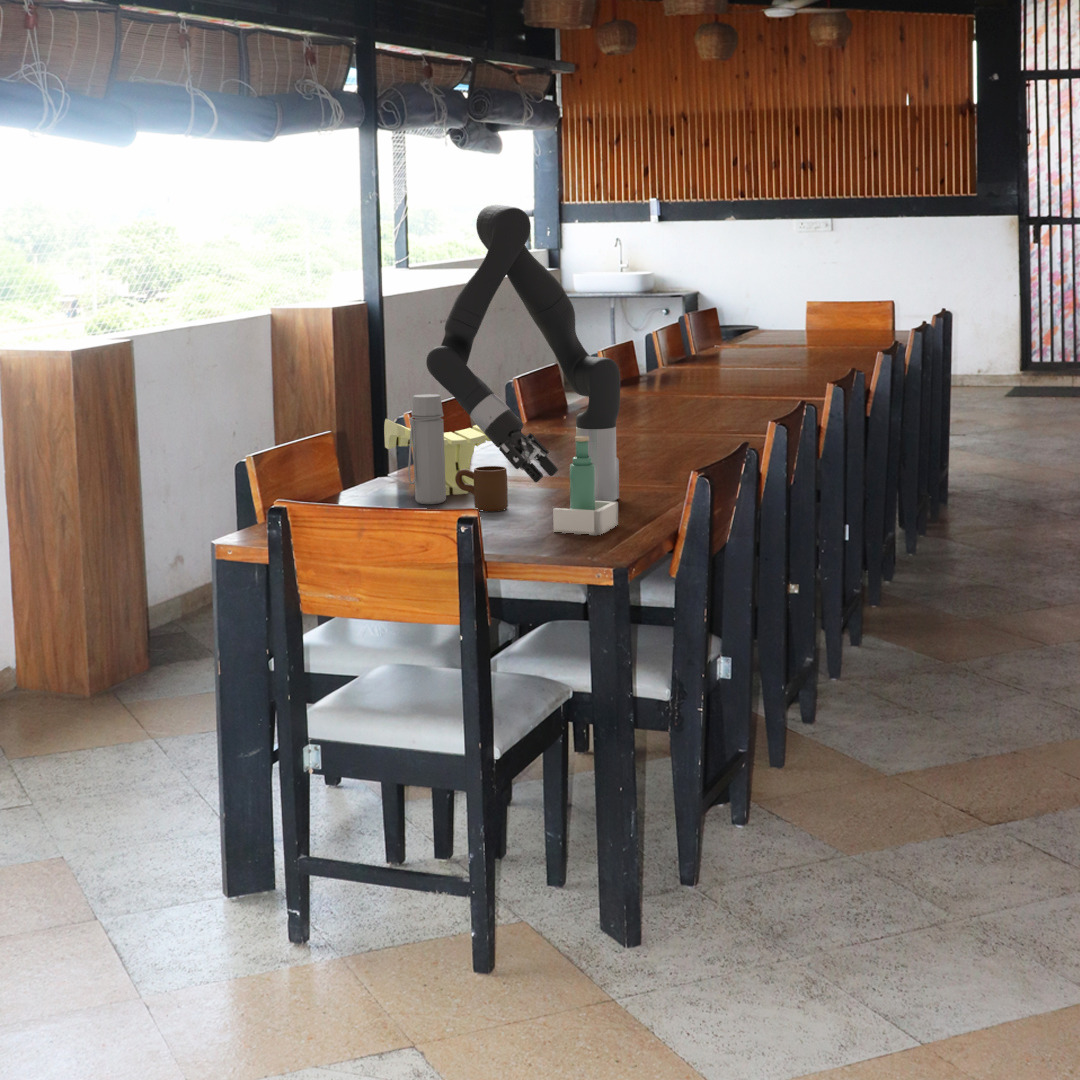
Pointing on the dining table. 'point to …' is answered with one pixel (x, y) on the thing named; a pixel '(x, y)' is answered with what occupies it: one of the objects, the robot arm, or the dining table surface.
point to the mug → (486, 487)
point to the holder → (586, 519)
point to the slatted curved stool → (455, 450)
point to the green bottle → (582, 477)
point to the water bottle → (427, 449)
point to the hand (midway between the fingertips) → (547, 476)
